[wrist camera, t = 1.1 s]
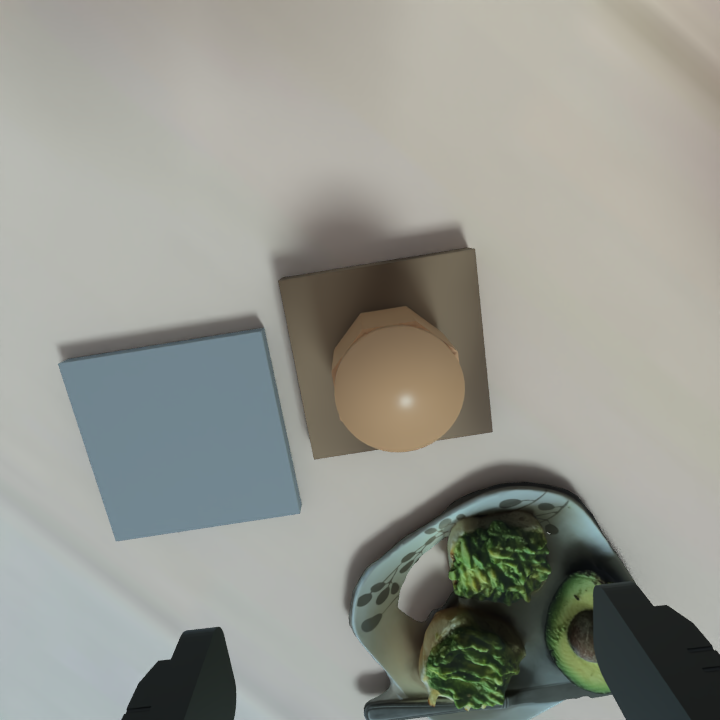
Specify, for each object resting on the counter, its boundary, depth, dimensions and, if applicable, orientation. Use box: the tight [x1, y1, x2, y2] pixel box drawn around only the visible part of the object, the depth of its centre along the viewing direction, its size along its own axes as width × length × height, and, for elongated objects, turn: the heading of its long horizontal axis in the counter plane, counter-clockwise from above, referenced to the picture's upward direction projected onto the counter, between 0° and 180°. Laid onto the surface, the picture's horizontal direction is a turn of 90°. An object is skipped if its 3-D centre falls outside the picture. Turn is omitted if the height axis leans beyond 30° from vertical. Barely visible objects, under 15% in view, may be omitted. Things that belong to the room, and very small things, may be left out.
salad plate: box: [349, 482, 636, 720], centre depth 31 cm, size 19×18×5 cm
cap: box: [331, 306, 465, 452], centre depth 24 cm, size 6×6×5 cm
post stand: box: [278, 248, 493, 459], centre depth 26 cm, size 10×10×6 cm
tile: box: [58, 328, 302, 541], centre depth 29 cm, size 11×11×1 cm
